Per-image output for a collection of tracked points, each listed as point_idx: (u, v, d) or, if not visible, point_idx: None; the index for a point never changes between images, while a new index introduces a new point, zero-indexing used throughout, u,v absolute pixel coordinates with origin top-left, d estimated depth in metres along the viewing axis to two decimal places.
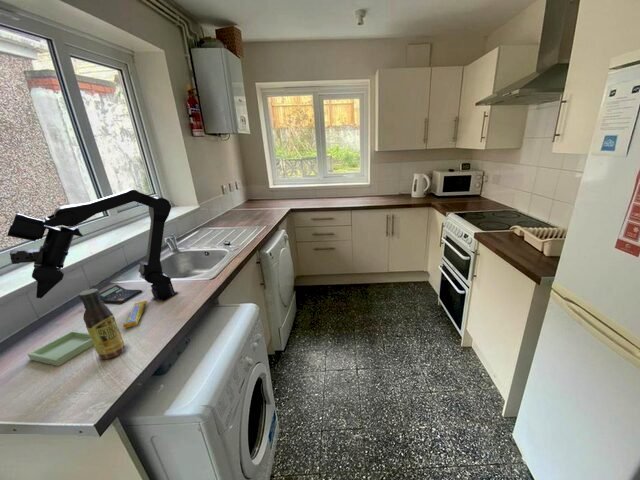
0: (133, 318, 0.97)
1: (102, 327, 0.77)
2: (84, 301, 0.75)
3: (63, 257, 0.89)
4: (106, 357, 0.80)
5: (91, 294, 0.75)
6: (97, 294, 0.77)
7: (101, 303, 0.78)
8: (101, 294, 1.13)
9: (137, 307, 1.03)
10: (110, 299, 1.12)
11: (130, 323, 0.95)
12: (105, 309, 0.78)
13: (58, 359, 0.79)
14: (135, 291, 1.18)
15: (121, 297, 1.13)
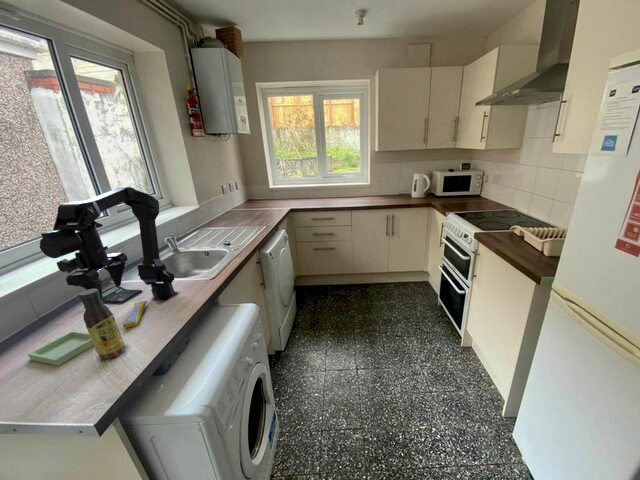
0: (133, 318, 0.97)
1: (102, 327, 0.77)
2: (84, 301, 0.75)
3: (98, 256, 0.84)
4: (106, 357, 0.80)
5: (91, 294, 0.75)
6: (97, 294, 0.77)
7: (101, 303, 0.78)
8: None
9: (137, 307, 1.03)
10: (110, 299, 1.12)
11: (130, 323, 0.95)
12: (105, 309, 0.78)
13: (58, 359, 0.79)
14: (135, 291, 1.18)
15: (121, 297, 1.13)
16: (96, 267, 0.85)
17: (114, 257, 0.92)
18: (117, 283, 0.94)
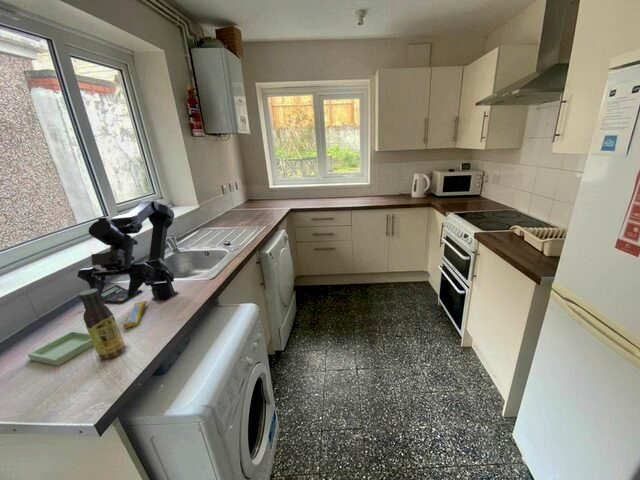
0: (133, 318, 0.97)
1: (102, 327, 0.77)
2: (84, 301, 0.75)
3: None
4: (106, 357, 0.80)
5: (91, 294, 0.75)
6: (97, 294, 0.77)
7: (101, 303, 0.78)
8: (101, 294, 1.13)
9: (137, 307, 1.03)
10: (110, 299, 1.12)
11: (130, 323, 0.95)
12: (105, 309, 0.78)
13: (58, 359, 0.79)
14: None
15: (121, 297, 1.13)
16: None
17: None
18: None
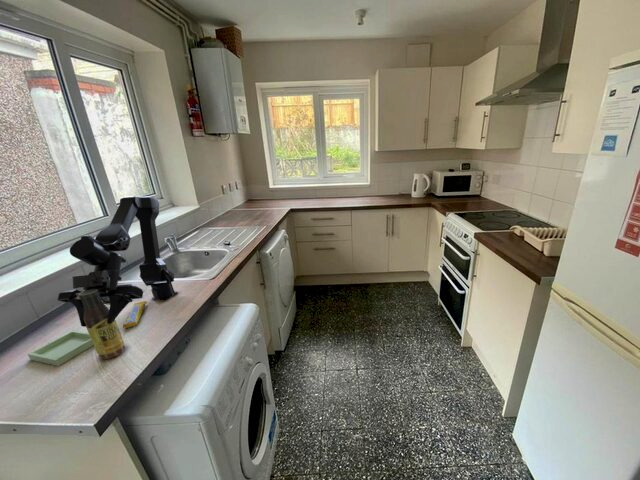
0: (132, 318, 0.97)
1: (102, 327, 0.77)
2: (84, 301, 0.75)
3: None
4: (106, 357, 0.80)
5: (91, 294, 0.75)
6: (97, 294, 0.77)
7: (101, 303, 0.78)
8: None
9: (137, 307, 1.03)
10: None
11: (130, 323, 0.95)
12: (105, 309, 0.78)
13: (58, 359, 0.79)
14: None
15: None
16: None
17: None
18: None
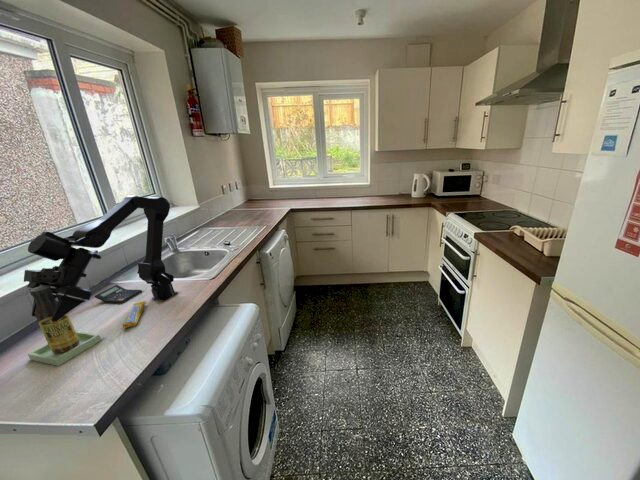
0: (132, 318, 0.97)
1: (46, 324, 0.79)
2: (33, 297, 0.78)
3: (79, 279, 0.86)
4: (54, 352, 0.83)
5: (37, 291, 0.77)
6: (44, 292, 0.78)
7: (50, 301, 0.79)
8: (101, 294, 1.13)
9: (136, 307, 1.03)
10: (110, 299, 1.12)
11: (129, 323, 0.95)
12: (53, 307, 0.80)
13: (58, 359, 0.79)
14: (135, 291, 1.18)
15: (121, 297, 1.13)
16: None
17: None
18: None
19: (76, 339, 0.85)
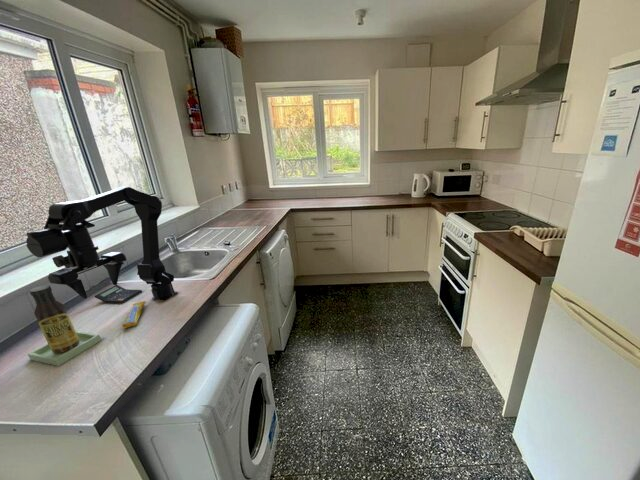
0: (132, 318, 0.97)
1: (46, 324, 0.79)
2: (33, 297, 0.78)
3: (83, 256, 0.85)
4: (54, 352, 0.83)
5: (37, 291, 0.77)
6: (44, 292, 0.78)
7: (50, 301, 0.79)
8: (101, 294, 1.13)
9: (136, 307, 1.03)
10: (110, 299, 1.12)
11: (129, 323, 0.95)
12: (53, 307, 0.80)
13: (58, 359, 0.79)
14: (135, 291, 1.18)
15: (121, 297, 1.13)
16: (82, 267, 0.85)
17: (110, 257, 0.92)
18: (113, 282, 0.95)
19: (76, 339, 0.85)
